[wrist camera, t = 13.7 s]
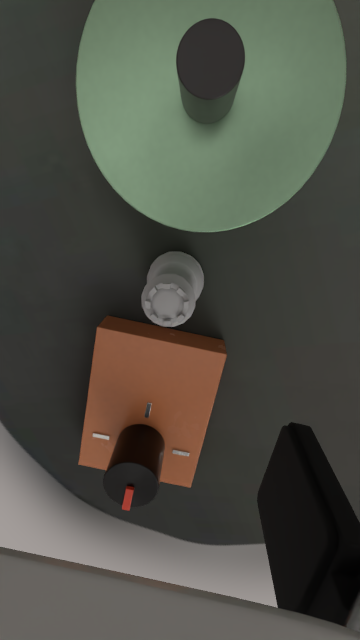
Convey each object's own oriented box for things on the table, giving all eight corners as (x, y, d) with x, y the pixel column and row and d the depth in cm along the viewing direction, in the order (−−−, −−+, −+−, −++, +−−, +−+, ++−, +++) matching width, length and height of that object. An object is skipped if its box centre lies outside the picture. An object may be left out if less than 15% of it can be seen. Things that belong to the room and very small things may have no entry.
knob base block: (107, 315, 28) (96, 327, 25) (224, 340, 28) (227, 355, 25) (88, 447, 32) (76, 471, 29) (190, 468, 32) (189, 494, 29)
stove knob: (121, 419, 27) (105, 460, 23) (169, 429, 27) (163, 472, 23) (114, 458, 29) (98, 505, 24) (160, 467, 29) (152, 516, 24)
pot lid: (100, -92, 14) (55, -229, 10) (377, -29, 14) (457, -136, 10) (71, 205, 18) (29, 202, 13) (291, 252, 18) (321, 265, 14)
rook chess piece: (168, 316, 28) (157, 355, 20) (137, 270, 27) (112, 294, 19) (214, 286, 27) (221, 316, 19) (183, 238, 26) (177, 250, 18)
